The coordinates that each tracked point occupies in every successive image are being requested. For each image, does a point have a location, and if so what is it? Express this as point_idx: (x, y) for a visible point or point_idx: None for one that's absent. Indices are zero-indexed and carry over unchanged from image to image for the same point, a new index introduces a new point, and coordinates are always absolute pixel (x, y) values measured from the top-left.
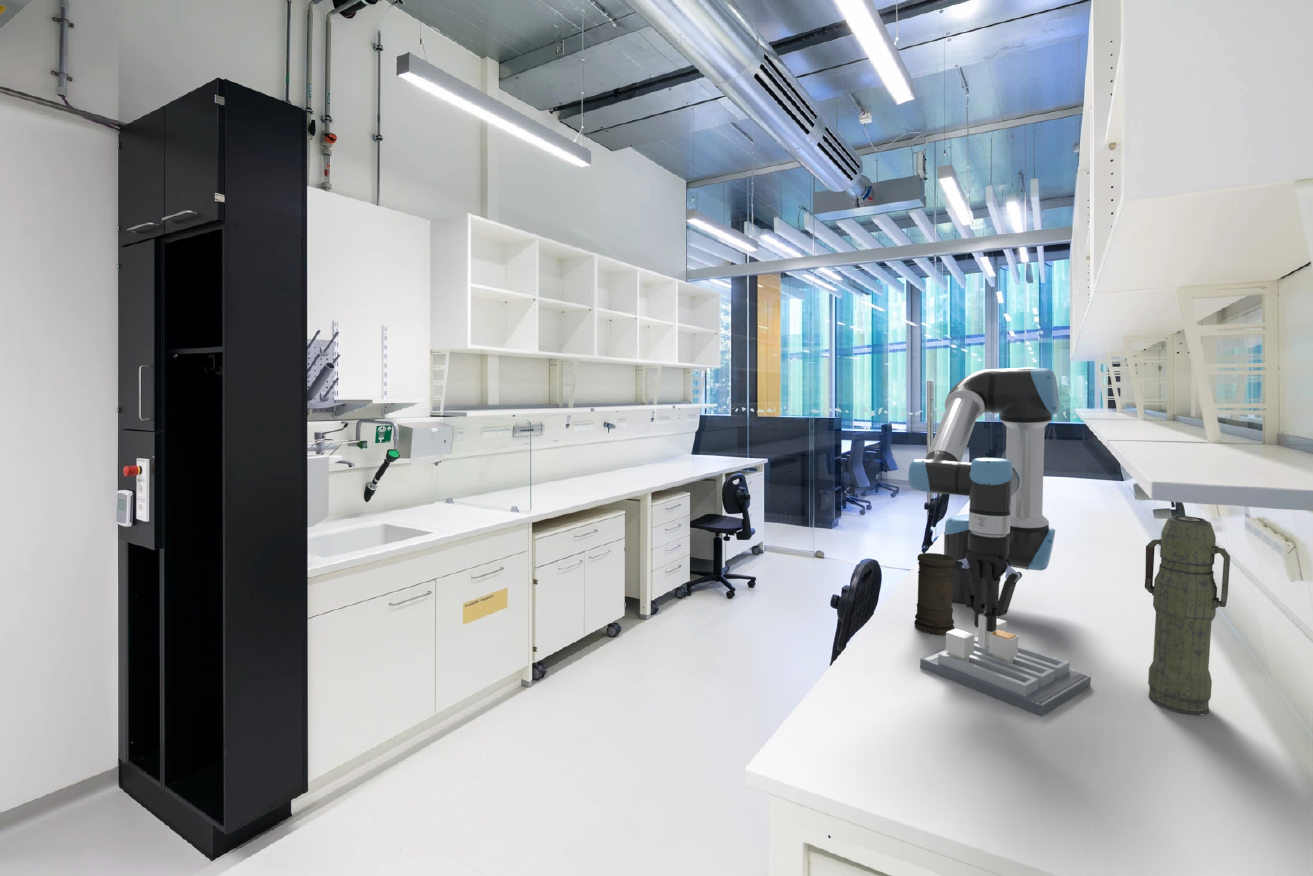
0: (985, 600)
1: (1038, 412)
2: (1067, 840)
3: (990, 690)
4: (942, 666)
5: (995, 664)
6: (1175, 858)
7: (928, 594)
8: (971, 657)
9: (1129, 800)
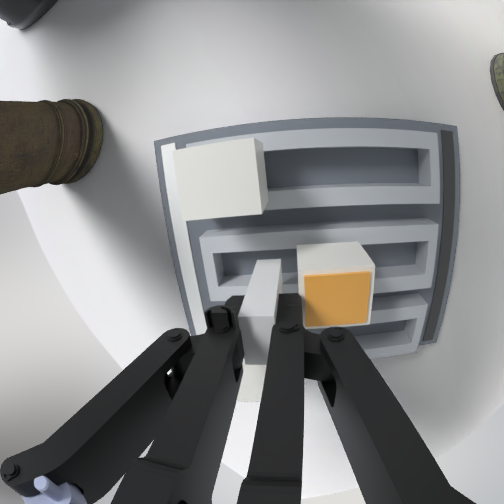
0: (227, 364)
1: None
2: (451, 441)
3: None
4: None
5: None
6: (500, 404)
7: (8, 190)
8: None
9: (493, 384)
